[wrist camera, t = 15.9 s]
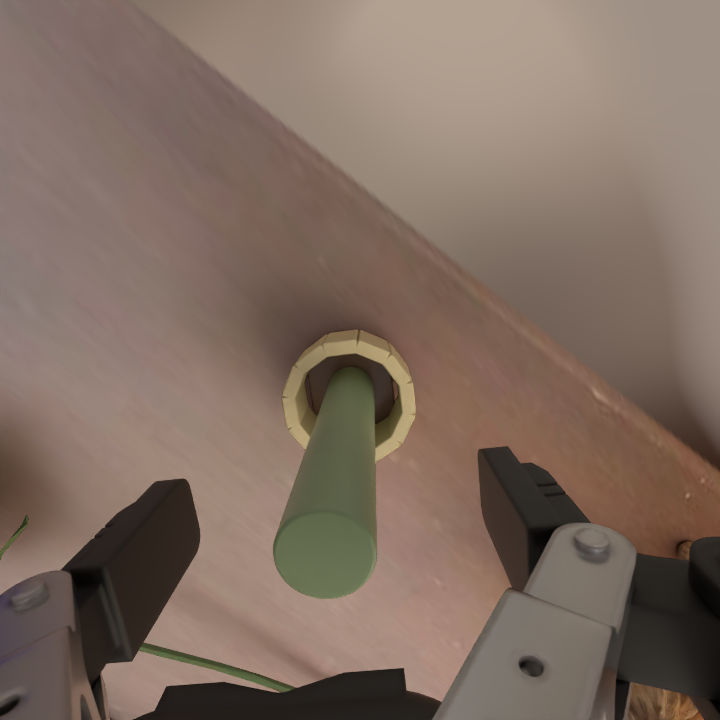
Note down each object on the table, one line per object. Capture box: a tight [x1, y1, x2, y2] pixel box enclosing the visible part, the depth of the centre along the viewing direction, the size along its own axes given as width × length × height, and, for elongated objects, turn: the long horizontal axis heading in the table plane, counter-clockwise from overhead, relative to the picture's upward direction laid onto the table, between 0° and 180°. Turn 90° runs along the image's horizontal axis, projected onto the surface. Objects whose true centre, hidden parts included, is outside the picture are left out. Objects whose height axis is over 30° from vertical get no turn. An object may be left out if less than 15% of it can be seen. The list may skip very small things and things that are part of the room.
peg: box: [273, 341, 395, 599], centre depth 15 cm, size 4×4×13 cm
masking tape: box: [282, 329, 416, 462], centre depth 19 cm, size 6×6×3 cm
